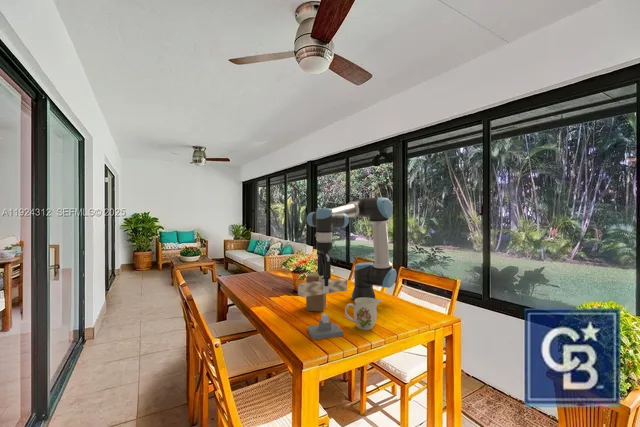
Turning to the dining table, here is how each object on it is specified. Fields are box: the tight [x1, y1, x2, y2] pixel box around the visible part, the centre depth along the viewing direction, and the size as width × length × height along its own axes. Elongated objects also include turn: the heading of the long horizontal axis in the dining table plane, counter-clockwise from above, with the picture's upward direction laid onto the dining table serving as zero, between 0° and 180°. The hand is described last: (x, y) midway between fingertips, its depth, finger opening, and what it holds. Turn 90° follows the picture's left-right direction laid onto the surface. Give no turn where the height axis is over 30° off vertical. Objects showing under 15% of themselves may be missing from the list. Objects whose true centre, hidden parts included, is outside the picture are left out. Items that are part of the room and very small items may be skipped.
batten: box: [297, 277, 348, 298], centre depth 137 cm, size 24×4×5 cm, turn 120°
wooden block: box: [305, 272, 327, 313], centre depth 169 cm, size 10×10×20 cm
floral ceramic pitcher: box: [344, 297, 383, 331], centre depth 143 cm, size 11×18×14 cm, turn 76°
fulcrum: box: [307, 313, 344, 341], centre depth 136 cm, size 14×10×8 cm
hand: (323, 291), depth 137 cm, fingers closed on batten, 5 cm apart
